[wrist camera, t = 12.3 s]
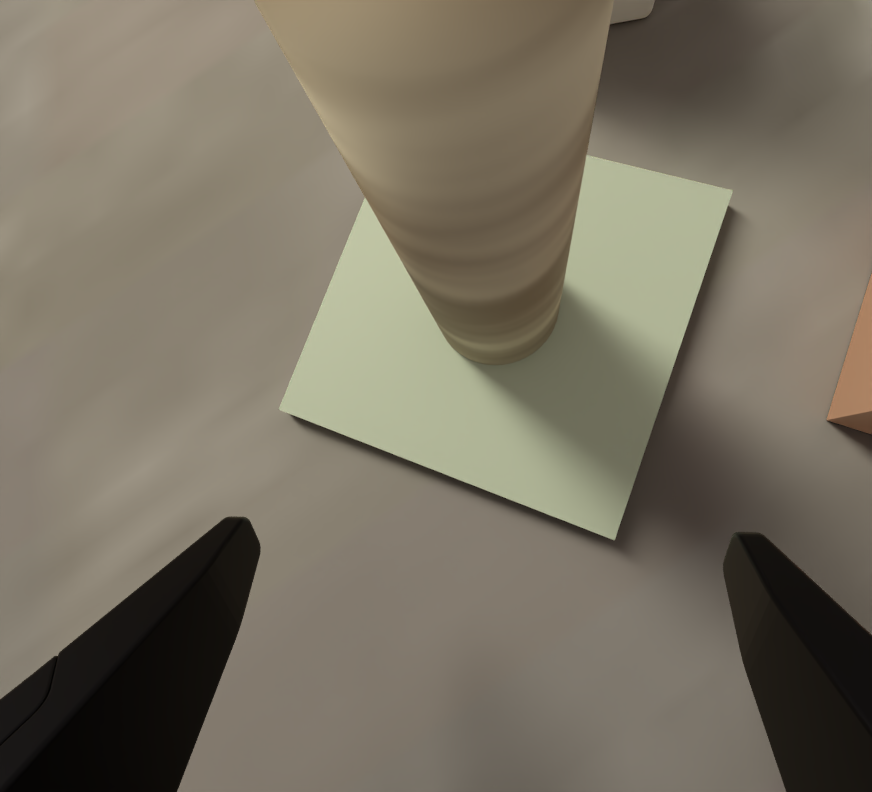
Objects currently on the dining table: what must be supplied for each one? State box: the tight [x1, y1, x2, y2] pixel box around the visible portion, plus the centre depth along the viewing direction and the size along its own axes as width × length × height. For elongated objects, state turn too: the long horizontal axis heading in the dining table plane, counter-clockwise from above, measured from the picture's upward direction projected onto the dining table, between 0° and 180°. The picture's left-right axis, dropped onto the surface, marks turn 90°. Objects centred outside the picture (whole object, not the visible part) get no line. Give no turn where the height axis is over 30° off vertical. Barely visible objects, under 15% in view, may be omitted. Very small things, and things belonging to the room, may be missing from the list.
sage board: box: [279, 155, 733, 540], centre depth 20 cm, size 13×13×1 cm
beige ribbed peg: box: [254, 0, 614, 365], centre depth 13 cm, size 4×4×14 cm
